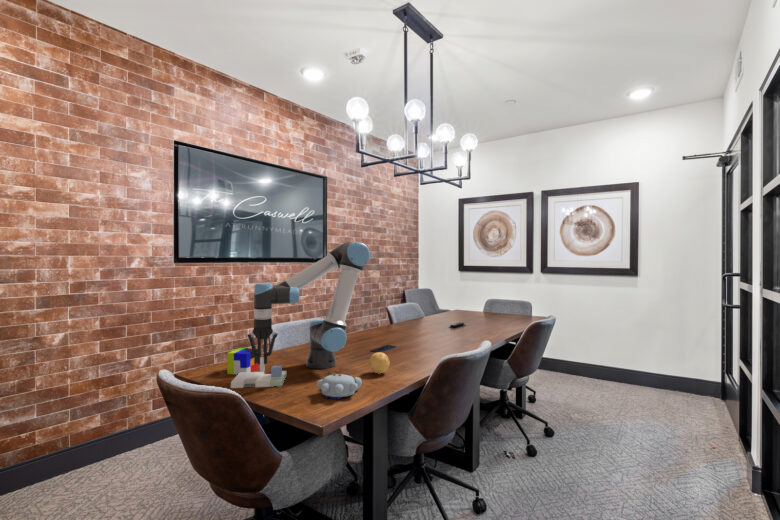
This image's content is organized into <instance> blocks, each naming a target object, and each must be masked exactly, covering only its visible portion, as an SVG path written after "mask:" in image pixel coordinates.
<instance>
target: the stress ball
mask: <svg viewBox="0 0 780 520" xmlns="http://www.w3.org/2000/svg"><path fill="white" fill-rule="evenodd" d="M390 365H391V362H390V359H389V357H388V355H387V354H385V352H381V351H379V352H378V351H377V352H374V353H372V355H371V356H370V358H369V359H368V366H369V369H370V370H371V371H372V372H373V373H375V374H376V373H378V374H377V375H382V374H383V373H385V372H387V370H388V369H390ZM381 373H382V374H381Z"/></svg>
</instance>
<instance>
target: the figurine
mask: <svg viewBox="0 0 780 520" xmlns="http://www.w3.org/2000/svg"><path fill="white" fill-rule="evenodd" d="M361 386H362V378H360V377H359V376H358V377H357V376H355V377H353V376H352V375H350V374H345V373H344V374H342V373H339V374H337V373H333V374H330V375H326V376H325V377H324V378H322V379H319V380H317V382H316V387H317V388H318V389H321V394H322V395H323V396H325V399H326V398H328V397H329V399H334V398H335V400H336V399H337V398H338V399H339V400H340V398H341V399H342V398H343V397H344V398H345V397H350V396H353V395H354V394H355V392H356V391H358V388H360V387H361Z"/></svg>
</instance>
